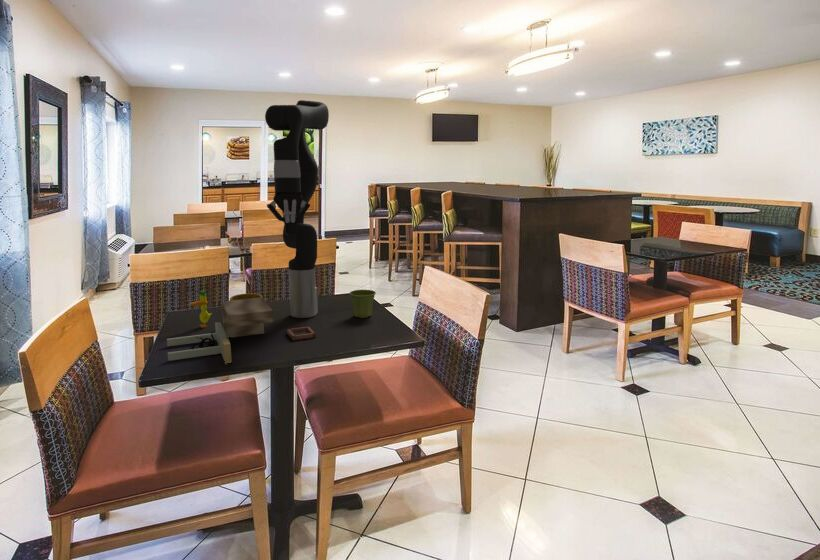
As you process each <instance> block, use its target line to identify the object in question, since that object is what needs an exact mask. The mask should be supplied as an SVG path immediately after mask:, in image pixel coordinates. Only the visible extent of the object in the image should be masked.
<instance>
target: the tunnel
mask: <svg viewBox="0 0 820 560" xmlns="http://www.w3.org/2000/svg"><path fill="white" fill-rule="evenodd" d="M221 311H222V323H223V324H222V327H223V329H224V331H225V334H226V339H230V338H229V337H231V338H237V337H238V336H239V337H245V336H246V337H247V336H254V335H260V334H265V324H268V323H274V311H273V309H272V308H271V307H270V306H269V304H268V303H267V302H266V301H265V300H264V299H263V297H262V298H252V299H242V300H232V301H230V300H224V301H221Z"/></svg>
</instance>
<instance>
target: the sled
mask: <svg viewBox="0 0 820 560" xmlns="http://www.w3.org/2000/svg"><path fill="white" fill-rule="evenodd" d="M214 328H215V332H213V333H212V332H211V333H212V335H213V337H214V341H216V342H217V345H214V346H213V347H209V346H208V347H207V346H206V347H203V348H199V347H197V348H196V349H195V348H194V349H189V350H188V349H185V350H183V349H182V350H177V351H170V352H169V351H168V352H167V360H168V361H177V360H184V359H191V358H199V357H205V356H206V357H207V356H211V355H218V354H221V356H222V359H223V362H224V361H225V362H224V365H227V364H226V363H231V362H232V348H231V343H230V340H229V338H226V334H225V331H224V327H223V324H222V323H221V322H220V321H218V322H214ZM211 333H210V332H209V333H203V334H196V335H189V336H188V335H187V336H179V337H178V336H177V337H172V338H166V344H167V345H166V346H167V347H174V346H182V345H188V344H195V343H196V344H197V343H199V342H200V341H202V339H201V340H200V338H203V339H205V338H210V339H212V336H211ZM197 337H198V338H197ZM205 342H209V340H206V341H205ZM200 343H201V342H200ZM232 363H233V362H232Z"/></svg>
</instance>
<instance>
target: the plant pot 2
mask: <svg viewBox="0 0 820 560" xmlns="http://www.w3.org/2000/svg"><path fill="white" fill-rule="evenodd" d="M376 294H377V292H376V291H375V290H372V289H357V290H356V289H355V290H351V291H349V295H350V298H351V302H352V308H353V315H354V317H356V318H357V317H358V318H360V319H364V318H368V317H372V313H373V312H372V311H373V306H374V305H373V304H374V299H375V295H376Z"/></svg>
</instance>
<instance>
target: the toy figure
mask: <svg viewBox="0 0 820 560" xmlns="http://www.w3.org/2000/svg"><path fill="white" fill-rule="evenodd" d="M208 304H209V301H207V293H206V291H200V294H199V300H198V301H192V302H190V303H189V305H190V306H191V307H200V309H201V310H200V311H201V312H200V313H199V320H200V322H201V323H202V324H200V325H199V327H200V328H201V329H203V328H207V327H208V326H207V325H206V323H209V322H208V321H209V319H210V318H211V316H212V315H213V313H212V312H210V313H209V312H208V311H207V307H208V306H207V305H208Z"/></svg>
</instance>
